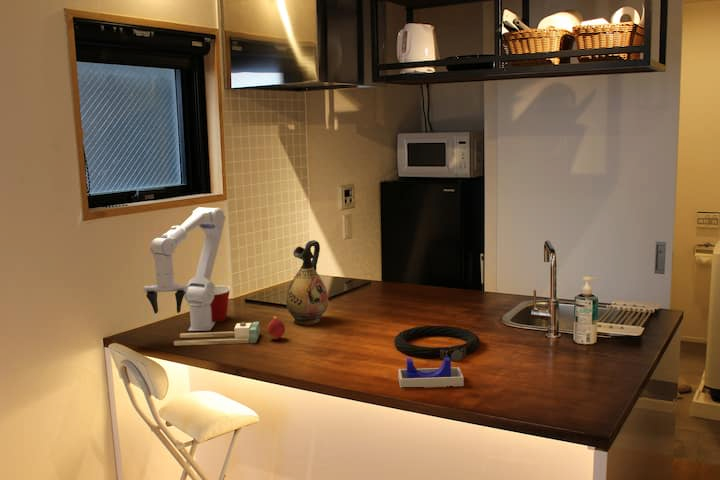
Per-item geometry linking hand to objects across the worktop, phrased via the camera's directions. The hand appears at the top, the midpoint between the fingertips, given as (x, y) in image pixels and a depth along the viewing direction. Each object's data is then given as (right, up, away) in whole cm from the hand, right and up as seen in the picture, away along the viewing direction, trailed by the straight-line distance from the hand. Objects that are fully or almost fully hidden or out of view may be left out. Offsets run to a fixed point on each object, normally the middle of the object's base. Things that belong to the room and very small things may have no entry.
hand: (167, 312), depth 243 cm
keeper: (+26, -9, +1) cm, 27 cm away
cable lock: (+91, -10, -14) cm, 92 cm away
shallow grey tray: (+85, -15, -45) cm, 97 cm away
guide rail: (+17, -9, +1) cm, 19 cm away
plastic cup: (+12, -6, +26) cm, 30 cm away
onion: (+37, -9, -1) cm, 38 cm away
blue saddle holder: (+85, -15, -44) cm, 97 cm away
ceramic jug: (+47, -5, +21) cm, 52 cm away
